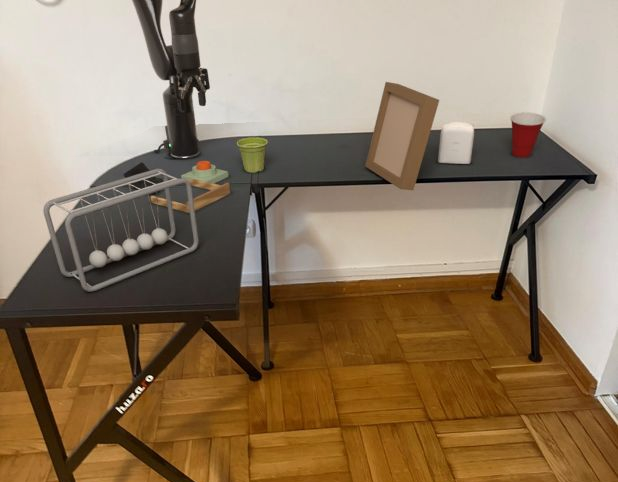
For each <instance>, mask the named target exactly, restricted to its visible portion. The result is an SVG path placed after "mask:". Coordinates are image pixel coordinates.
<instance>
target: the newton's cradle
mask: <svg viewBox="0 0 618 482" xmlns="http://www.w3.org/2000/svg"><path fill="white" fill-rule="evenodd" d="M157 176H162V177H161V178H163V182H162V183H159V184H155V185H152V186H149V187H146V184H145V187H146V188H143V189H140V190H134V191H132V189H131V186H132V187H133V185H131V183H134V182H138V181H141V180H144V179H148V178H151V177H157ZM168 179H171V180H168ZM146 181H147V180H146ZM148 182H149V181H148ZM144 183H145V181H144ZM150 183H151V182H150ZM153 184H154V183H153ZM182 184H183V185H185V187H186V195H187V202H188V203H189V210H190V213H189V216H190V222H191V223H190V225H191V231H192V236H193V237H192V238H193V243H192V245H191V246H190V247H188V246H186V245H184V244H182V243H181V242H178V241H176V240H175V239H173V238H175V236H176V233H177V231H176V230H177V229H176V223H175V216H174V209H172V202H171V201H172V196H171V190H170V188H174V187H176V186H179V185H182ZM123 186H128V188H129V191H130V192H127V193H124V192H122V191H119V190H118V188H120V187H123ZM134 187H135V186H134ZM192 187H193V186H192V185H191V183H190V182H189V181H188V180H187V179H184V178H182V177H181V178H177V177H175V176H172V175H169V174H167V172H166V171H165V169H162V168H155V169H152V170H149V171H148V172H144V173H141V174H137V175H134V176H131V177H127V178H125V177H124V178H121V179H117V180H114V181H110V182H107V183H103V184H101V185H96V186H93V187H90V188H87V189H83V190H80V191H76V192H73V193H70V194H67V195H63V196H60V197H57V198H52V199H50V200H48V201H47V202H46V203H45V204H44V206H43V210H42V211H43V216H44V219H45V222H46V226H47V229H48V230H47V231H48V234H49V236H50V239H51V243H52V247H53V251H54V254H55V258H56V261H57V264H58V267H59V271H60V273H61V274H62V275H63V276H64V277H66V278H76V279H77V280H78V281H79V282H80V286H81V288H82V289H83V290H84V291H85V292H89V293H92V292H96V291H99V290H101V289H105V288H106V287H109V286H111V285H113V284H116V283H119V282H121V281H124V280H127V279H128V278H131V277H133V276H137V275H138V274H141V273H143V272H147V271H149V270H151V269H154V268H156V267H159V266H161V265H163V264H166V263H168V262H170V261H174V260H175V259H178V258H181V257H183V256H185V255H188V254H190V253H193V252H194V251H196V250H197V248H198V247H199V243H200V241H199V233H198V225H197V219H196V211H195V210H194V202H193V199H194V196H193V188H192ZM136 188H137V187H136ZM138 189H139V188H138ZM111 190H112V191H113V194H114V197H110V198H107V197H105V196H104V195H101V193H104V192H107V191H111ZM115 191H116V192H118V193H121V194H120V195H116V192H115ZM157 191H160V192H161V191H164V194H165V199H166V201H167V207H166V208H167V213H168V219H169V225H170V233H169V234H168V232H167V231H166V230H165V229H163V228H161V227H160V219H159V218H160V217H159V215H157V222H156V218H155V213H154V210H153V206H152V203H151V198H150V196H149V194H151V193H154V192H156V195H155V196H158V193H157ZM95 195H96V196H97V199H98V201H97V202H95V203H90V202H88V201H87V200H85V199H84V198H87V197H88V198H89V197H91V196H95ZM100 196H101V197H103V199H105V200H100V198H99V197H100ZM146 196H147V198H148V202H149V204H150V208H151V213H152V215H153V219H154V223H155V227H156V228H155V229H153V230H152V231H151V234H149V233H146V228H145V226H143V228H142V224H143V225H145V217H144V214H142V222H143V223H142V224H141V221H140V217H139V213H138V210H137V207H136V206H137V205H136V203H135V199H139V198H141V201H143V197H146ZM77 200H80V204H81V206H82V207H79V208H78V207H77V208H75V209H72V210H69V209H67V208H65V207H64V206H62V205H65V204H68V203H71V202H75V201H77ZM83 201H84V202H85V203H87V204H88V205H85V206H84V205H83ZM129 201H133V205H134V208H135V212H136V215H137V218H138V223H139V224H140V225H139V226H140V229H141V232H142V233H141V234H139V235H138V236H137V238H136V239H134V238H131V233H130V231H128V232H127V229H128V230H130V223H129V214H128V203H127V202H129ZM123 203H125V209H126V218H127V219H126V221H127V229H126V225H125V222H124V218H123V216H122V213H121V212H122V211H121V208H120V206H119V204H123ZM116 205H117V207H118V210H119V214H120V217H121V221H122V224H123V228H124V230H125V231H124V232H125V235H126V238H127V239H125V240H124V241H123V242H122V245H120V244H117V243H116V240H115V234H114V228H113V226H114V225H113V218H112V217H113V216H112V209H111V207H114V206H116ZM53 206H56V207H58V208H59V209H61V210H62V211H64V212H67V213H68V215H67V216H66V218H65V221H64V227H65V231H66V234H67V238H68V242H69V246H70V250H71V253H72V256H73V257H72V258H73V261H74V264H75V267H76V270H73V271H67V269H66V265H65V262H64V259H63V255H62V252H61V248H60V244H59V241H58V238H57V234H56V231H55V226H54V223H53V220H52V217H51V213H50V212H51V211H50V210H51V208H52V207H53ZM107 208H109V213H110V221H111V230H112V231H111V232H112V236H111V232H110V229H109V226H108V223H107V220H106V217H105V213H104V209H107ZM156 208H157V209H156V211H157V212H159V205H158V200H157V204H156ZM141 210H142V213H144V203H143V202H141ZM98 211H101V213H102V215H103V218H104V221H105V225H106V227H107V231H108V234H109V237H110V240H111V243H112V244H110V245H108V247H107V249H106V253H105V252H104V251H102V250H98V241H97V232H96V231H97V230H96V224H95V215H94V212H98ZM91 213H92V220H93V228H94V238H95V242H94V238H93V235H92V233H91V228H90V226H89V221H88V218H87V215H89V214H91ZM82 216H84V217H85V221H86V223H87V224H86V225H87V227H88V230H89V233H90V238H91V240H92V244H93V247H94V251H92V252H91V253H90V254H89V256H88V259H89V260H88V261H89V263H90V264H89V265H86V266H83V265H82V264H83V263H82V260H81V257H80V252H79V249H78V245H77V242H76V238H75V235H74V230H73V226H72V222H73V220H75V219H77V218H79V217H82ZM157 224H158V225H157ZM169 241H171V242H174V243H175V244H177V245H179V246H181V247H182V248H185V249H183V250H181V251H177V252H175V253H173V254H171V255H167V256H165V257H162V258H160V259H157V260H155V261H152V262H150V263H148V264H144V265H142V266H140V267H138V268H135V269H133V270H130V271H128V272H124V273H122V274H119V275H117V276H114V277H112V278H109V279H107V280H105V281H102V282H99V283H96V284H94V285H91V284H89V283H87V280H86V276H85V273H88V272H90V271H93V270H95V269H98V268H99V269H100V268H101V269H102V268H103V267H105V266H106V265H109V264H110V263H113V262H119V261H121V260H122V259H124V258H127V257H129V256H135V255H137V254H138V253H140V252H142V251H147V250H148V251H149V250H151V249H152V248H153V247H155V246H158V245H164V244H166V242H169ZM71 273H72V274H71Z"/></svg>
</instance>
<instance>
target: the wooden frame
mask: <svg viewBox="0 0 618 482" xmlns="http://www.w3.org/2000/svg"><path fill="white" fill-rule="evenodd" d="M190 183H191V187H196V188H200V189H204V190H208V191H206V192H205V193H202V194H200V195H198V196H195V197H193V202H194V210H195V212H196V211H198V210H200V209H202V208H204V207H206V206H207V205H210V204H212V203H214V202H216V201H218V200H220V199H222V198H224V197H226V196H228V195H230V194H231V188H230V183H229V182H225V183H223V184H217V183H214V184H213V183H209V182H205V181H200V180H196V179H190ZM157 200H158V206H162V207H165V208H168V207H167V201H166V198H162V197H159V196H156V195H150V202H151V204H154V205H157ZM171 202H172V209H173V210H176V211H179V212H182V213H183V212H184V213H187V214H190V210H189V203H188V201H186V203H181V202H178V201H175V200H171Z"/></svg>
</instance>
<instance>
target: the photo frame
mask: <svg viewBox="0 0 618 482" xmlns="http://www.w3.org/2000/svg"><path fill="white" fill-rule="evenodd" d="M439 103H440V99H439V98H435V97H433V96H431V95H428V94H425V93H423V92H420V91H418V90H415V89H413V88H410V87H407V86H405V85H403V84H400V83H395V82H391V81H390V82H389V81H385V82H384V88H383V91H382V94H381V100H380V104H379V108H378V112H377V116H376V120H375V125H374V128H373V132H372V137H371V141H370V145H369V147H368V153H367V157H366V161H365V166H364V167H366V168H367V169H369V170H370V171H372V172H373V173H375V174H376V175H378V176H379V177H381V178H382V179H384V180H385V181H387V182H388V183H390V184H391V185H394V186H395V187H397V188H398V189H400V190H403V191H404V190H405V191H414V190H415V187H416V183H417V179H418V177H419V174H420V173H419V172H420V169H421V166H422V162H423V160H424V159H423V158H424V155H425V152H426V148H427V145H428V141H429V137H430V134H431V131H432V128H433V124H434V120H435V117H436V113H437V110H438V107H439Z"/></svg>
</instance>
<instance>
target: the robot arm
mask: <svg viewBox="0 0 618 482" xmlns="http://www.w3.org/2000/svg"><path fill="white" fill-rule="evenodd" d="M131 1H132V4H133V7H134V9H135V12H136V15H137V18H138V22H139V25H140V27H141V30H142V34H143V37H144V38H143V39H144V41H145V45H146V49H147V53H148V57H149V60H150V63H151V66H152V69H153V72H154V73H155V75H156V76H157V78H158V79H160V80H162V81H168V82H169V85H168V87H167V88H166V89H165V90H164V91H163V92H162V102H163V108H164V114H165V122H166V125H165V126H164V129H165V135H166V139H164V140H162V143H161V144H160V145H159V146H158V148H157V150H156V149H154V150H153V151H154V153H159V152H160V151H161V148H162V147H163V148H164V149H167V150H168V155H169V156H171V158H173V159H177V160H187V159H188V160H189V159H194V158H196V157H198V156H200V147H199V144H200V141H199V138H198V133H197V124H196V123H197V122H196V116H195V115H196V114H195V107H194V101H193V94H194V89H196V91H197V98H198V105H199V106H200V107H205V106H206V105H207V104H206V103H207V99H206V98H207V97H206V93H207V91H208V90H210V89H211V85H210V78H209V77H210V76H209V71H208V69H207V68H204V67H201V56H200V47H199V39H198V36H197V28H196V20H195V15H196V14H195V13H196V7H197V0H180V2H179V5H178V6H177V7H175V8H174V9H173V8H172V9H171V10H170V11H169V12H168V18H169V25H170V26H169V27H170V34H171V36H170V37H171V44H170V45H167V44H166V42H165V38H164V35H163V32H162V26H161V25H162V24H161V21H162V20H161V19H162V10H163V2H164V1H163V0H131Z"/></svg>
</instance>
